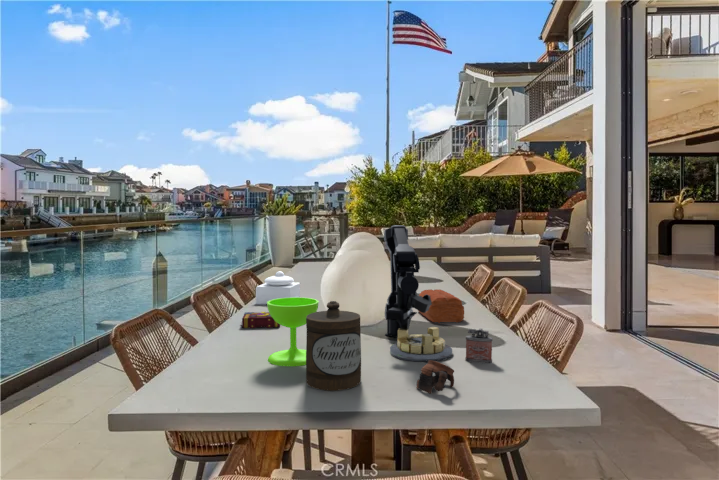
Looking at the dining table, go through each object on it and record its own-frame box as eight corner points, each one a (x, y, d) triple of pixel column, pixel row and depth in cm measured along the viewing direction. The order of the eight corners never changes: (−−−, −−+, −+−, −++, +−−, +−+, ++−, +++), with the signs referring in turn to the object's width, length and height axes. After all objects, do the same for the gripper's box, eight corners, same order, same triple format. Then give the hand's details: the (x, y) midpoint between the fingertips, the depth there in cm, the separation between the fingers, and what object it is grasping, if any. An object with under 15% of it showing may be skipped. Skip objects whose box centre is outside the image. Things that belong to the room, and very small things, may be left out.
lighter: (492, 361, 159) (493, 328, 159) (491, 364, 156) (492, 331, 155) (466, 358, 162) (466, 326, 161) (464, 361, 159) (465, 329, 158)
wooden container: (316, 394, 130) (316, 308, 129) (299, 377, 144) (298, 298, 143) (370, 386, 136) (370, 303, 135) (348, 370, 150) (348, 295, 149)
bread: (447, 310, 241) (447, 287, 240) (466, 322, 214) (467, 297, 214) (414, 311, 239) (414, 288, 238) (430, 323, 212) (430, 298, 211)
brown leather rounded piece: (409, 386, 138) (420, 357, 140) (440, 400, 139) (450, 371, 141) (424, 389, 126) (436, 358, 129) (458, 405, 128) (469, 373, 130)
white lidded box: (256, 304, 256) (255, 272, 255) (268, 298, 273) (268, 268, 272) (290, 305, 253) (290, 273, 252) (300, 299, 270) (300, 269, 270)
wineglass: (277, 369, 151) (276, 308, 150) (261, 355, 165) (260, 299, 164) (327, 361, 158) (327, 303, 157) (307, 349, 172) (307, 295, 171)
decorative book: (280, 328, 205) (280, 315, 204) (238, 329, 203) (238, 316, 203) (281, 322, 216) (281, 310, 216) (242, 323, 214) (242, 311, 214)
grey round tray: (378, 355, 165) (378, 342, 165) (407, 342, 182) (407, 330, 182) (437, 365, 154) (437, 351, 154) (461, 350, 171) (461, 337, 171)
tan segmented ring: (422, 356, 157) (422, 338, 157) (388, 346, 169) (388, 330, 168) (457, 347, 169) (457, 330, 168) (422, 338, 180) (422, 322, 179)
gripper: (417, 295, 159) (418, 345, 160) (437, 284, 175) (438, 329, 177) (384, 292, 164) (385, 340, 165) (407, 282, 180) (407, 326, 182)
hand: (405, 334), depth 172 cm, fingers closed
